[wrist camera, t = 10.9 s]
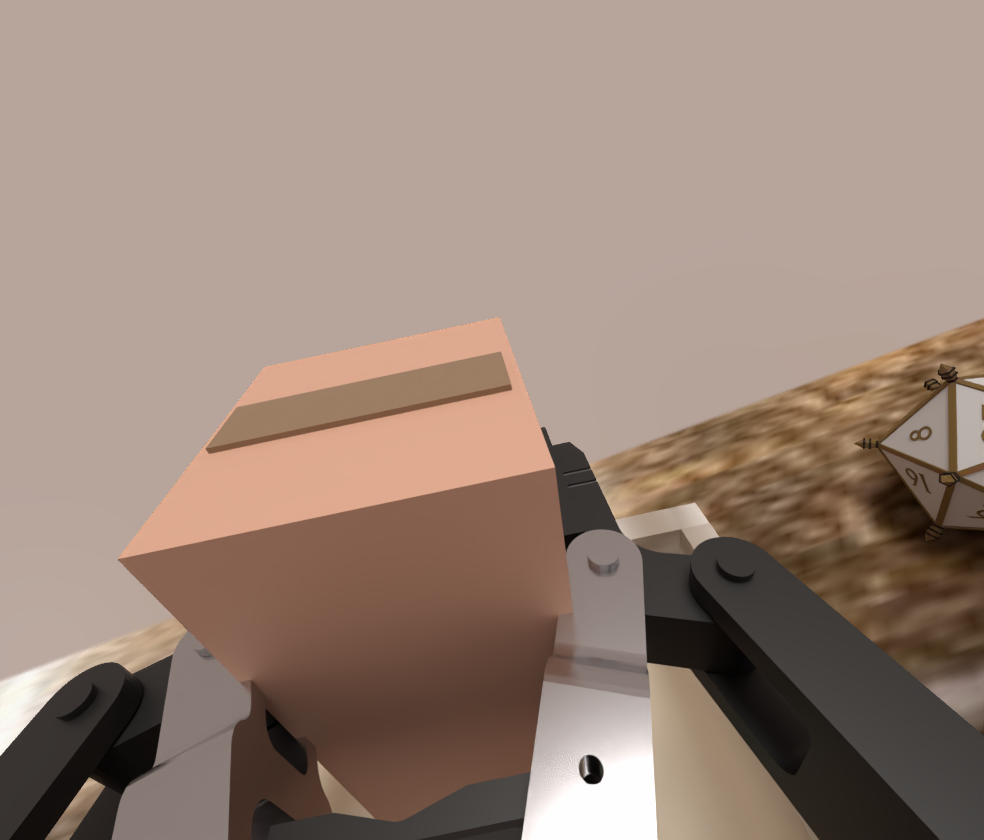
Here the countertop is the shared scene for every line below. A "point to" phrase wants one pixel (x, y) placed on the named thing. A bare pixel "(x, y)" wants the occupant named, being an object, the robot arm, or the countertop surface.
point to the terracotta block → (377, 560)
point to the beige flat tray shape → (684, 735)
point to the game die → (942, 452)
